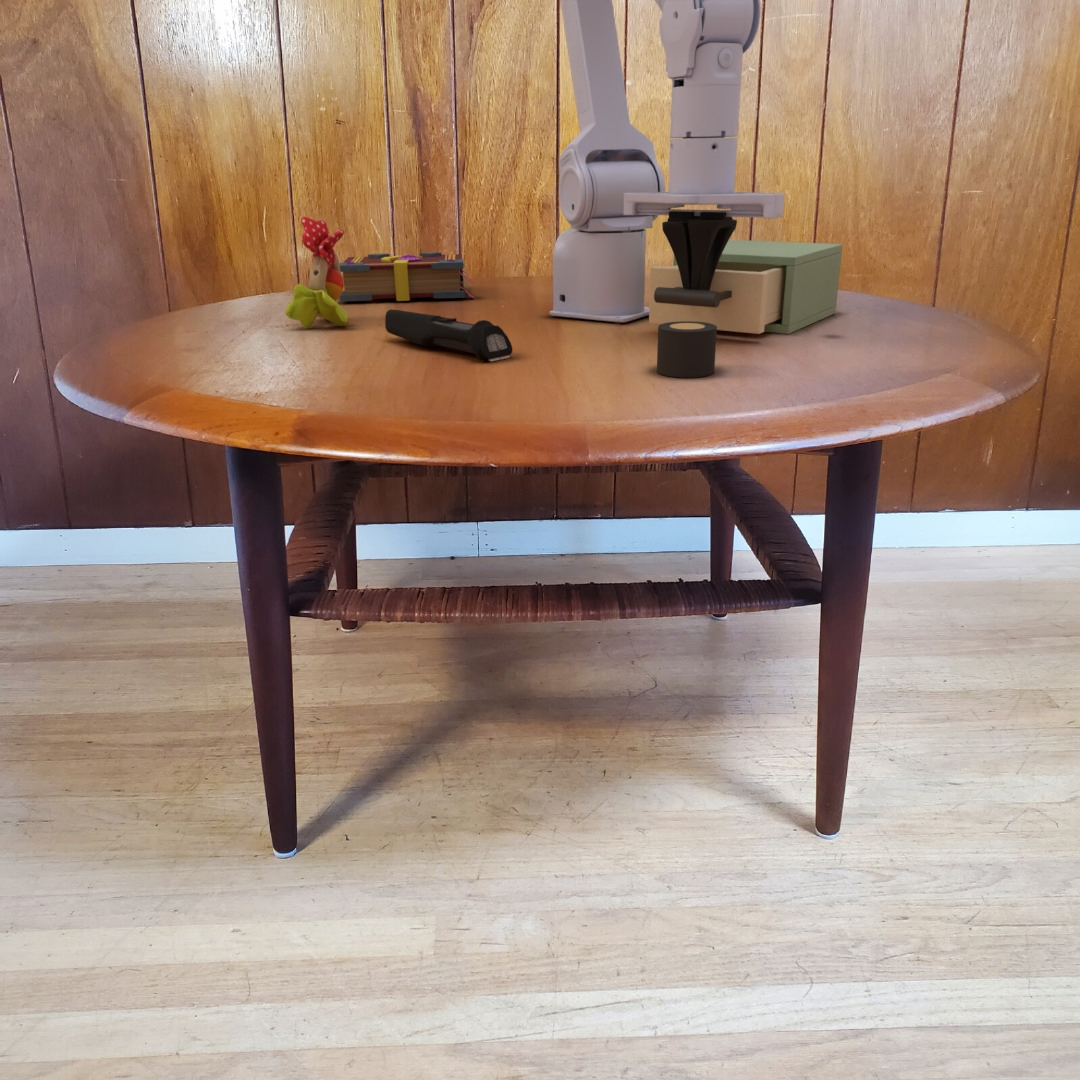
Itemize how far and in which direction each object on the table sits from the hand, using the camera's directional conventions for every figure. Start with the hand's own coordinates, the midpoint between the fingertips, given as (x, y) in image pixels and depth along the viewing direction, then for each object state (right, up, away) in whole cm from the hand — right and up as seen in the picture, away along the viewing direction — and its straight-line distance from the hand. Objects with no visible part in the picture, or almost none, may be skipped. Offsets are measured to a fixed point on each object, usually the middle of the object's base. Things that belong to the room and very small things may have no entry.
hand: (696, 300), depth 84 cm
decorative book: (-31, +9, +32) cm, 45 cm away
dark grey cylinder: (-3, -8, -10) cm, 13 cm away
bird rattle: (-37, +1, +14) cm, 40 cm away
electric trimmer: (-23, -5, 0) cm, 24 cm away
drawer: (+3, -1, +6) cm, 6 cm away
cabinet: (+8, +1, +12) cm, 15 cm away
